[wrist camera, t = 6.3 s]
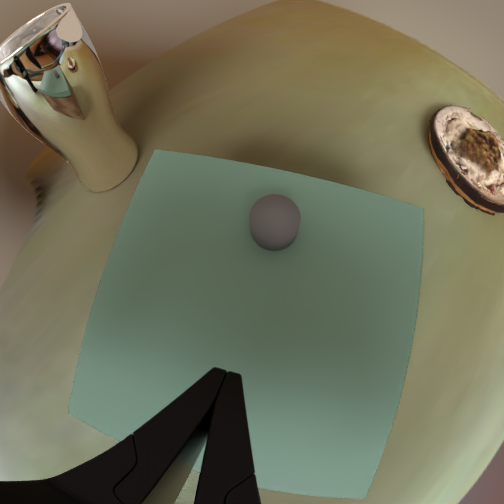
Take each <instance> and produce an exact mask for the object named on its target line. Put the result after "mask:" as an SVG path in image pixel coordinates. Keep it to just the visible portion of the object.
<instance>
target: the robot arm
mask: <svg viewBox="0 0 504 504" xmlns="http://www.w3.org/2000/svg"><path fill="white" fill-rule="evenodd" d="M205 443H206V445H205ZM204 445H205V450H204V455H203V460H202V465H201V470H200V475H199V480H198V485H197V490H196V495H195V500H194V504H261V501H260V496H259V491H258V486H257V480H256V475H255V468H254V461H253V454H252V448H251V441H250V434H249V427H248V420H247V412H246V405H245V398H244V390H243V382H242V376H241V374H239V373H236V372H232V371H228V372H227V371H226V370H225V369H221V368H218V367H213V368H212V369H211V370H209V371H208V372H207V373H206V374H205V375H203V376H202V377H201V378H200V379H199V380H198V381H196V382H195V383H194V384H193V385H192V386H190V387H189V388H188V389H187V390H186V391H184V392H183V393H182V394H181V395H180V396H178V397H177V398H176V399H175V400H173V401H172V402H171V403H170V404H168V405H167V406H166V407H165V408H163V409H162V410H161V411H160V412H158V413H157V414H156V415H155V416H153V417H152V418H151V419H150V420H148V421H147V422H146V423H144V424H143V425H142V426H141V427H139V428H138V429H137V430H135V431H134V432H133V434H130V435H128V436H127V437H126V438H125V439H123V440H122V441H120V442H119V443H117V444H116V445H115V446H113V447H112V448H110V449H109V450H107V451H105V452H104V453H102V454H100V455H98V456H96V457H95V458H93V459H91V460H89V461H87V462H85V463H83V464H81V465H79V466H77V467H75V468H73V469H71V470H69V471H66V472H64V473H62V474H60V475H58V476H55V477H52V478H48V479H43V480H31V481H0V504H174V502H175V501H176V499H177V497H178V495H179V493H180V491H181V489H182V487H183V486H184V484H185V482H186V480H187V478H188V476H189V474H190V472H191V470H192V468H193V466H194V464H195V462H196V460H197V459H198V457H199V455H200V453H201V451H202V449H203V447H204Z"/></svg>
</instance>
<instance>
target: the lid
mask: <svg viewBox="0 0 504 504" xmlns="http://www.w3.org/2000/svg"><path fill="white" fill-rule="evenodd" d="M423 238H424V208H421V207H418V206H415V205H412V204H409V203H406V202H403V201H399V200H396V199H393V198H390V197H386V196H383V195H379V194H376V193H373V192H369V191H365V190H362V189H358V188H354V187H351V186H347V185H343V184H339V183H335V182H331V181H327V180H323V179H319V178H315V177H311V176H307V175H302V174H298V173H293V172H289V171H284V170H279V169H274V168H270V167H265V166H260V165H254V164H249V163H244V162H238V161H232V160H227V159H221V158H215V157H208V156H202V155H195V154H188V153H181V152H173V151H165V150H157V149H155V151H154V153H153V155H152V157H151V159H150V161H149V163H148V165H147V167H146V169H145V171H144V173H143V175H142V177H141V179H140V182H139V184H138V186H137V188H136V190H135V193H134V195H133V197H132V199H131V202H130V204H129V206H128V209H127V211H126V213H125V216H124V218H123V220H122V223H121V225H120V228H119V230H118V233H117V236H116V238H115V241H114V243H113V246H112V249H111V251H110V254H109V257H108V260H107V262H106V265H105V268H104V271H103V274H102V277H101V280H100V283H99V286H98V289H97V292H96V295H95V299H94V302H93V305H92V309H91V312H90V316H89V319H88V323H87V326H86V330H85V334H84V338H83V342H82V346H81V350H80V354H79V358H78V363H77V368H76V372H75V377H74V382H73V387H72V393H71V398H70V404H69V411H68V413H69V414H71V415H72V416H74V417H76V418H77V419H79V420H81V421H83V422H84V423H86V424H88V425H90V426H91V427H93V428H95V429H97V430H99V431H101V432H103V433H104V434H106V435H108V436H110V437H112V438H114V439H116V440H118V441H122V440H123V439H125V438H126V437H127V436H128V435H130V434H133V432H134V431H135V430H137V429H138V428H139V427H141V426H142V425H143V424H144V423H146V422H147V421H148V420H150V419H151V418H152V417H153V416H155V415H156V414H157V413H158V412H160V411H161V410H162V409H163V408H165V407H166V406H167V405H168V404H170V403H171V402H172V401H173V400H175V399H176V398H177V397H178V396H180V395H181V394H182V393H183V392H184V391H186V390H187V389H188V388H189V387H190V386H192V385H193V384H194V383H195V382H196V381H198V380H199V379H200V378H201V377H202V376H203V375H205V374H206V373H207V372H208V371H209V370H211V369H212V368H213V367H218V368H221V369H225V370H226V371H227V372H228V371H232V372H236V373H239V374H241V376H242V382H243V390H244V398H245V405H246V412H247V420H248V427H249V434H250V441H251V448H252V454H253V461H254V468H255V475H256V480H257V486H258V488H262V489H268V490H273V491H279V492H286V493H293V494H301V495H309V496H320V497H334V498H365V496H366V494H367V492H368V490H369V487H370V485H371V483H372V480H373V478H374V475H375V473H376V470H377V468H378V465H379V463H380V460H381V457H382V455H383V452H384V449H385V446H386V443H387V440H388V437H389V434H390V431H391V428H392V425H393V422H394V418H395V415H396V412H397V408H398V405H399V401H400V397H401V393H402V389H403V385H404V381H405V377H406V372H407V368H408V363H409V358H410V353H411V348H412V343H413V337H414V331H415V325H416V318H417V311H418V303H419V294H420V284H421V273H422V259H423ZM205 445H206V443H205ZM205 445H204V447H203V449H202V451H201V453H200V455H199V457H198V459H197V460H196V462H195V464H194V466H193V468H192V470H193V471H196V472H199V473H200V470H201V465H202V460H203V455H204V450H205Z"/></svg>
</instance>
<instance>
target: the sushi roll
mask: <svg viewBox="0 0 504 504" xmlns="http://www.w3.org/2000/svg"><path fill="white" fill-rule="evenodd" d="M469 109H471V108H469ZM481 118H482V119H483V120H482V119H481ZM481 118H479V117H478V116H476V115H474V114H473V113H472V112H471V114H470V112H469V111H468V109H467V108H466V107H460V106H452V105H450V106H446V107H443V108H442V109H439V110H438V111H437V112H436V113H435V114H434V115H433V116H432V119H431V121H430V122H431V123H430V133H429V143H430V146H431V149H432V154H433V157H434V159H435V161H436V163H437V165H438V166H439V168H440V170H441V171H442V173H443V175H444V176H445V178H446V182H447V183H448V185H449V186H450V187H451V189H452V190H453V191H454V192H455V193H456V194H457V195H459V196H462V198H463V199H464V201H465V202H466V203H467V204H468V205H469V206H471V207H474V208H476V209H479V210H481V211H482V212H485V213H487V214H490V215H491V214H492V215H495V214H494V213H504V142H503V139H502V137H501V136H500V135H499V134H498V132H497V131H496V130H495V129H494V128H493V127H492V126H491V125H490V124H489V123H488V122H487V121H486V120H485V119H484V118H483V117H481ZM489 126H490V127H489ZM494 131H495V133H494ZM496 133H497V134H498V135H497V134H496ZM477 211H478V210H477Z"/></svg>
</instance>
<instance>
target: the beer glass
mask: <svg viewBox="0 0 504 504" xmlns="http://www.w3.org/2000/svg"><path fill="white" fill-rule="evenodd" d="M0 100H1V101H2V103H3V104H4V106H5V107H6V108H7V110H8V111H9V112H10V114H11V115H12V116H13V117H14V118H15V119H16V120H17V121H18V123H19V124H20V125H21V126H23V127H24V128H25V129H26V130H27V131H28V132H29V133H31V134H32V135H33V136H34V137H36V138H37V139H39V140H40V141H41V142H42V143H44V144H45V145H46V146H48V147H49V148H51V149H52V150H54V151H55V152H56V153H58V154H59V155H60V156H62V157H63V158H64V159H65V160H66V161H67V162H68V163H69V164H70V166H71V167H72V169H73V170H74V172H75V174H76V176H77V178H78V180H79V181H80V183H81V185H82V186H83V187H84V188H85V189H87V190H89V191H91V192H103V191H107V190H109V189H112V188H114V187H115V186H117V185H118V184H120V183H121V182H122V181H123V180H125V179H126V178H127V176H128V175H129V174H130V173H131V171H132V170H133V168H134V167H135V164H136V162H137V158H138V148H137V145H136V143H135V142H134V140H133V139H132V138H131V137H130V136H129V135H128V134H127V133H126V132H125V131H124V130H123V129H122V127H121V126H120V124H119V122H118V120H117V118H116V116H115V113H114V110H113V106H112V103H111V99H110V95H109V91H108V87H107V83H106V80H105V76H104V73H103V70H102V66H101V64H100V61H99V58H98V56H97V54H96V51H95V49H94V47H93V45H92V43H91V41H90V39H89V37H88V35H87V33H86V31H85V29H84V28H83V26H82V24H81V22H80V21H79V19H78V17H77V16H76V14H75V12H74V10H73V9H72V6H71V4H70V3H65V4H61V5H58V6H56V7H53V8H51V9H49V10H47V11H45V12H43V13H42V14H40V15H38V16H37V17H35V18H33V19H32V20H30V21H29V22H27V23H26V24H25V25H23V26H22V27H20V28H19V29H18V30H17V31H15V32H14V33H13V34H12V35H10V36H9V37H8V38H7V39H6V40H5V41H4V42H3V43H2V44H1V45H0Z"/></svg>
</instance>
